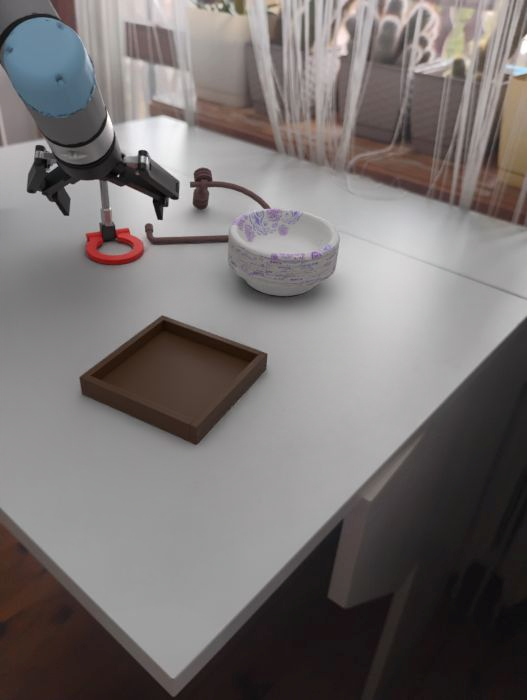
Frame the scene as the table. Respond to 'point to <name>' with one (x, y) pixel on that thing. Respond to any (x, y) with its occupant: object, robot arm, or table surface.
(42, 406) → the table surface
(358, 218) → the table surface
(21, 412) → the table surface
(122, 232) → the tow hook
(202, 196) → the toilet paper hanger
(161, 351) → the tray
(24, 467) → the table surface
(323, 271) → the paper bowls
